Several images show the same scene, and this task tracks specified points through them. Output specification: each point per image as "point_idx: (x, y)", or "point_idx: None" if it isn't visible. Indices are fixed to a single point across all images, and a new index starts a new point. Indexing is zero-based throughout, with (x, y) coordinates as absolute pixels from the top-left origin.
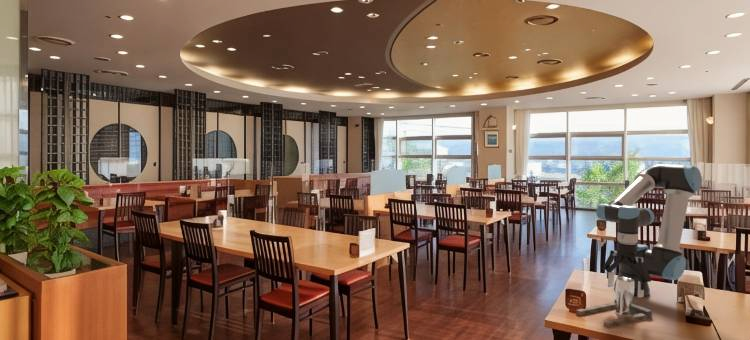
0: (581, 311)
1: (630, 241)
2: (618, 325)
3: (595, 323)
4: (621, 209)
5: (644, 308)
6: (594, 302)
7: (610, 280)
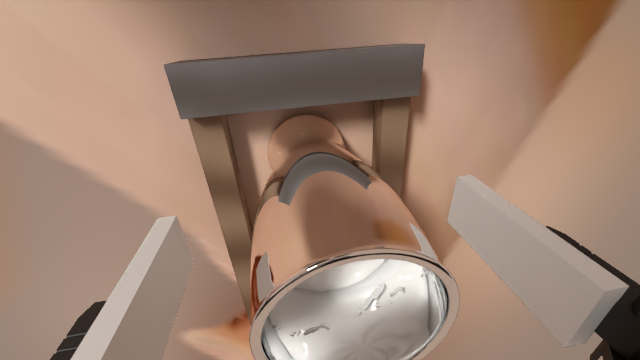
0: None
1: None
2: None
3: None
4: None
5: (378, 61)
6: (119, 175)
7: (170, 310)
